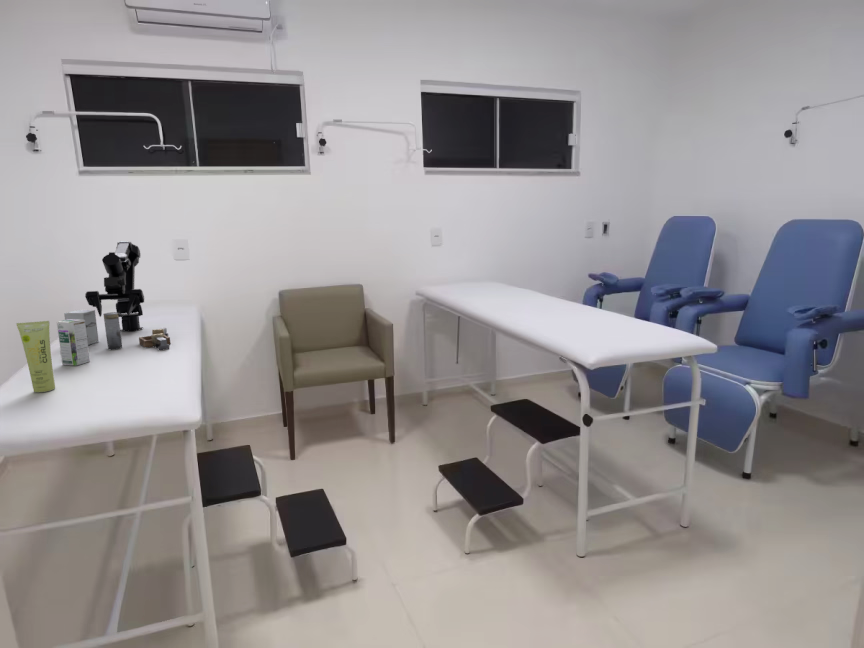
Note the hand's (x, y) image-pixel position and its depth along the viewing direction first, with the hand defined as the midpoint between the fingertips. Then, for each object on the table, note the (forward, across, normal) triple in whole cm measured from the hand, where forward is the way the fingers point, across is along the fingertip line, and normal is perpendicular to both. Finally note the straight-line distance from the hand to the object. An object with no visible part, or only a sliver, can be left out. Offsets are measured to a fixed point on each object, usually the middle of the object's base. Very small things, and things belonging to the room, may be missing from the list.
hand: (114, 315), depth 200 cm
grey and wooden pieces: (+10, +16, +7) cm, 19 cm away
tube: (+47, -9, -30) cm, 56 cm away
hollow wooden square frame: (+10, +13, +6) cm, 18 cm away
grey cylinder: (+12, 0, +5) cm, 13 cm away
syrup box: (+26, -8, -9) cm, 28 cm away
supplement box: (+3, -13, +13) cm, 19 cm away
